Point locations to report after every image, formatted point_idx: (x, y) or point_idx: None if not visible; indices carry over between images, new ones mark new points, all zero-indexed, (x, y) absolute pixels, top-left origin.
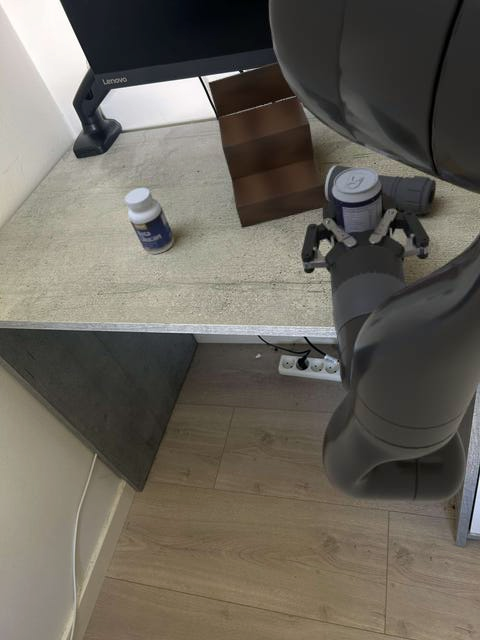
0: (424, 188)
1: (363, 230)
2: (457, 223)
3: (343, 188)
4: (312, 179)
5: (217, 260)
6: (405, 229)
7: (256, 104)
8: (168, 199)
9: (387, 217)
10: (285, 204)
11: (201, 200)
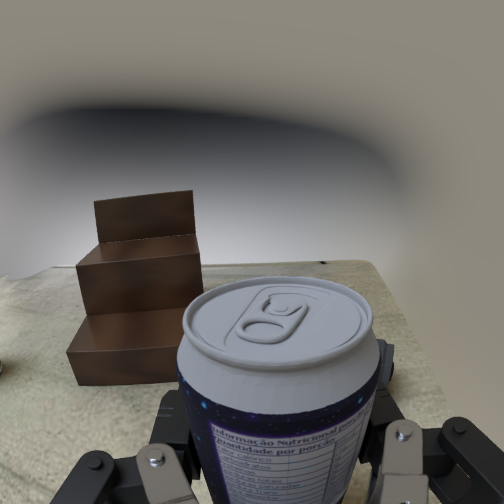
0: (385, 357)
1: (299, 501)
2: (428, 410)
3: (219, 339)
4: None
5: (22, 425)
6: (435, 476)
7: (144, 235)
8: (31, 326)
9: (398, 458)
10: (144, 364)
11: (58, 336)
